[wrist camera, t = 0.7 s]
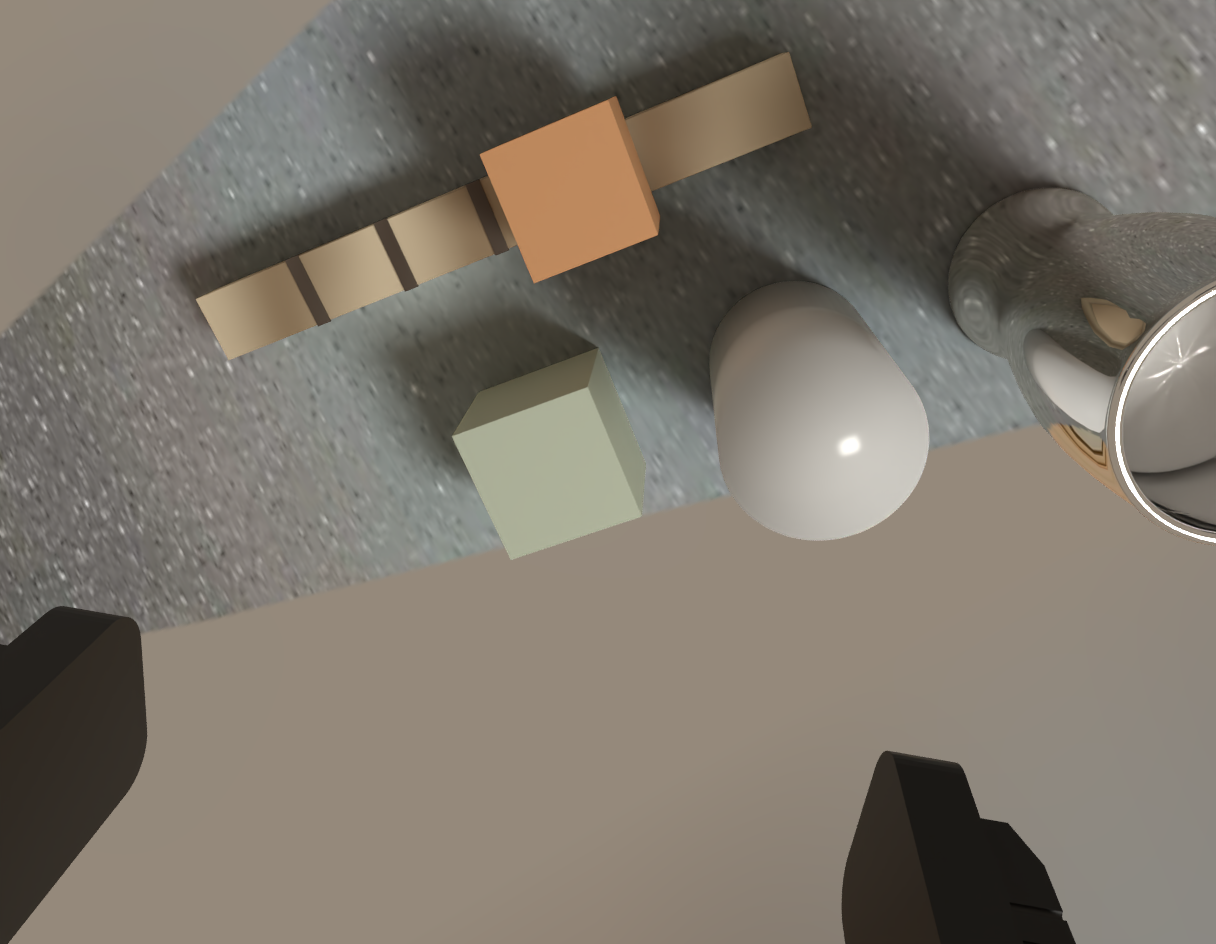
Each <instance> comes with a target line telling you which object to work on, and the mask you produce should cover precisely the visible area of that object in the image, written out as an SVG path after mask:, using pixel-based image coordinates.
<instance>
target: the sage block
mask: <svg viewBox="0 0 1216 944" xmlns="http://www.w3.org/2000/svg"><path fill="white" fill-rule="evenodd" d="M452 438H453V440H454V442H455V444H456V446H457V448H458V450H459V453H460V455H461V457H462V459H463V461H464V463H465V465H466V467H467V469H468V471H469V473H470V476H471V478H472V480H473V482H474V484H475V486H476V488H477V490H478V492H479V494H480V496H481V499H482V501H483V503H484V505H485V507H486V509H487V511H488V513H489V515H490V517H491V519H492V522H493V524H494V526H495V528H496V530H497V532H498V534H499V536H500V538H501V540H502V542H503V545H504V547H505V549H506V551H507V553H508V555H509V557H510V559H511V560H512V559H515V558H518V557H521V556H524V555H527V554H530V553H533V552H536V551H539V550H542V549H545V548H548V547H551V546H554V545H557V544H560V543H563V542H566V541H569V540H572V539H575V538H578V537H581V536H584V535H587V534H590V533H593V532H596V531H599V530H602V529H605V528H608V527H611V526H614V525H618V524H621V523H624V522H627V521H630V520H633V519H636V518H639V517H642V508H643V495H644V482H645V469H646V462H645V460H644V458H643V455H642V453H641V450H640V448H639V445H638V443H637V440H636V438H635V436H634V433H633V431H632V428H631V426H630V423H629V421H628V418H627V416H626V413H625V411H624V409H623V406H622V404H621V401H620V399H619V396H618V394H617V391H616V389H615V386H614V384H613V382H612V379H611V377H610V374H609V372H608V369H607V367H606V364H605V362H604V360H603V357H602V355H601V352H600V350H599V348H596V349H594V350H591V351H588V352H585V353H583V354H580V355H577V356H575V357H572V358H569V359H567V360H564V361H561V362H558V363H556V364H553V365H550V366H548V367H545V368H542V369H540V370H537V371H534V372H531V373H529V374H526V375H523V376H521V377H518V378H515V379H513V380H510V381H507V382H504V383H502V384H499V385H496V386H494V387H491V388H488V389H486V390H483V391H480V392H478V394H477V396H476V397H475V399H474V401H473V402H472V404H471V405H470V407H469V409H468V410H467V412H466V414H465V415H464V417H463V419H462V420H461V422H460V424H459V425H458V427H457V429H456V430H455V432H454V434H453V435H452Z"/></svg>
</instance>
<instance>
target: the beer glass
mask: <svg viewBox="0 0 1216 944" xmlns="http://www.w3.org/2000/svg"><path fill="white" fill-rule="evenodd" d="M948 295H949V302H950V306H951V309H952V312H953V315H954V317H955V319H956V321H957V323H958V325H959V326H960V328H961V329H962V331H963V332H964V333H965V334H966V335H967V337H968V338H969V339H971V340H972V341H973V342H974V343H975V344H977V345H978V346H979V347H981V348H982V349H984V350H985V351H987V352H989V353H991V354H994V355H996V356H998V357H1001V358H1004V359H1007V360H1008V362H1009V365H1010V367H1011V370H1012V372H1013V375H1014V377H1015V379H1016V382H1017V384H1018V386H1019V389H1020V391H1021V393H1022V394H1023V396H1024V398H1025V400H1026V401H1027V403H1028V405H1029V407H1030V408H1031V410H1032V412H1033V414H1034V415H1035V417H1036V418H1037V420H1038V421H1039V423H1040V424H1041V425H1042V427H1043V428H1044V429H1045V430H1046V431H1047V432H1048V434H1049V435H1050V436H1051V437H1052V438H1053V439H1054V440H1055V442H1056V443H1057V444H1058V445H1059V446H1060V447H1061V448H1062V449H1063V450H1064V451H1065V452H1066V453H1067V454H1068V455H1069V456H1070V457H1071V458H1072V459H1073V460H1074V461H1076V462H1077V463H1078V464H1079V465H1080V466H1081V467H1082V468H1083V469H1085V470H1086V471H1087V472H1088V473H1089V474H1090V475H1091V476H1093V477H1094V478H1095V479H1097V480H1098V481H1099V482H1100V483H1102V484H1103V485H1104V486H1106V487H1107V488H1108V489H1110V490H1111V491H1112V492H1114V493H1115V494H1117V495H1118V496H1120V497H1121V498H1122V499H1124V500H1125V501H1127V502H1128V503H1129V504H1131V505H1132V506H1134V507H1135V508H1136V509H1137V510H1138V511H1139V512H1140V513H1141V514H1142V515H1143V516H1144V517H1146V518H1147V519H1148V520H1149V521H1151V522H1152V523H1153V524H1155V525H1157V526H1158V527H1160V528H1161V529H1163V530H1165V531H1167V532H1169V533H1171V534H1173V535H1176V536H1178V537H1181V538H1184V539H1186V540H1190V541H1193V542H1197V543H1201V544H1207V545H1213V546H1214V545H1215V546H1216V217H1212V216H1207V215H1201V214H1192V213H1169V212H1146V213H1131V214H1119V215H1113V214H1112V213H1111V212H1110V211H1109V210H1108V209H1107V208H1106V207H1105V206H1103V205H1102V204H1101V203H1099V202H1098V201H1097V200H1095V199H1093V198H1091V197H1089V196H1087V195H1085V194H1083V193H1080V192H1078V191H1074V190H1071V189H1065V188H1056V187H1046V188H1036V189H1030V190H1026V191H1022V192H1019V193H1016V194H1013V195H1011V196H1009V197H1006V198H1004V199H1002V200H1001V201H999V202H997V203H996V204H994V205H993V206H991V207H990V208H988V209H987V210H986V211H985V212H983V213H982V214H981V215H980V216H979V217H978V218H977V219H976V220H975V221H974V222H973V223H972V224H971V226H970V227H969V228H968V229H967V231H966V232H965V234H964V235H963V237H962V238H961V240H960V242H959V243H958V245H957V247H956V250H955V252H954V255H953V257H952V261H951V264H950V269H949V275H948Z"/></svg>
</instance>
